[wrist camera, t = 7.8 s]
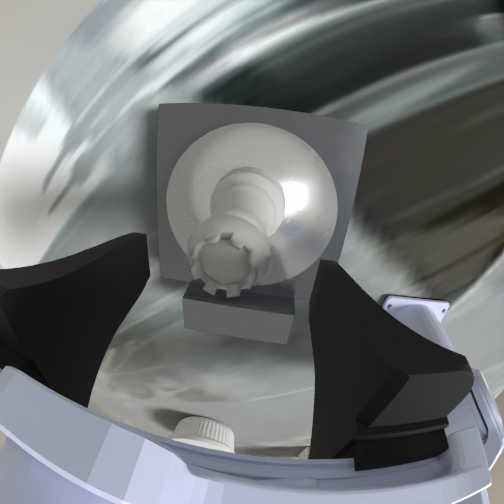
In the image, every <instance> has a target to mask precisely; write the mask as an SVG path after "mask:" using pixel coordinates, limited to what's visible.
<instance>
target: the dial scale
mask: <svg viewBox="0 0 504 504" xmlns="http://www.w3.org/2000/svg"><path fill="white" fill-rule="evenodd" d="M367 131H368V126H365V125H361V124H357V123H353V122H349V121H344V120H340V119H335V118H330V117H325V116H320V115H314V114H308V113H302V112H296V111H289V110H282V109H274V108H265V107H256V106H244V105H230V104H207V103H168V104H159V111H158V130H157V165H156V188H157V224H158V243H159V258H160V270H161V277H163V278H169V279H174V280H180V281H185V282H191V283H190V285H189V286H188V288H187V290H186V292H185V294H184V296H183V313H184V326H185V328H189V329H194V330H199V331H204V332H209V333H215V334H220V335H226V336H232V337H238V338H244V339H251V340H258V341H265V342H272V343H280V344H287V342H288V338H289V335H290V331H291V327H292V323H293V320H294V316H295V310H294V298H295V299H303V300H310V297H311V293H312V289H313V286H314V282H315V278H316V274H317V271H318V267H319V263H320V259H324V260H331V261H336V262H337V263H338V261H339V258H340V254H341V251H342V247H343V243H344V239H345V236H346V232H347V228H348V224H349V220H350V216H351V212H352V207H353V203H354V199H355V194H356V190H357V185H358V180H359V175H360V170H361V165H362V160H363V155H364V149H365V143H366V137H367ZM244 166H247V167H255V168H261V169H263V170H265V171H266V172H268V173H270V174H272V175H273V176H274V177H275V178H276V179H277V180H278V182H279V183H280V184H281V186H282V187H283V190H284V193H285V197H286V201H287V202H286V208H285V215H284V218H283V221H282V222H281V224H280V226H279V227H278V229H277V230H276V232H275V233H273V234H272V235H270V236H269V237H267V242H268V246H269V249H270V253H271V257H270V264H269V269H268V271H267V272H266V273H265V275H264V276H263V278H262V279H261V281H259V282H258V283H256V284H254V285H253V286H252V287H251V289H249V288H247V289H241V292H240V296H235V297H228V298H227V293H226V290H223V289H217V290H216V293H215V295H212V294H210V293H208V292H207V291H205V290H203V288H204V285H205V282H204V281H203V280H202V279H201V278H198V279H196V280H193V278H192V276H191V273H190V271H189V268H190V266H191V264H190V262H189V260H188V257H187V241H188V239H189V237H190V235H191V232H192V230H193V228H195V227H196V226H197V225H198V224H200V223H201V222H202V221H203V220H205V219H207V218H209V217H210V216H211V213H210V201H211V195H212V193H213V191H214V189H215V187H216V185H217V183H218V182H219V180H220V179H221V178H222V177H223V176H224V175H226V174H227V173H228V172H229V171H231V170H234V169H237V168H241V167H244Z"/></svg>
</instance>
